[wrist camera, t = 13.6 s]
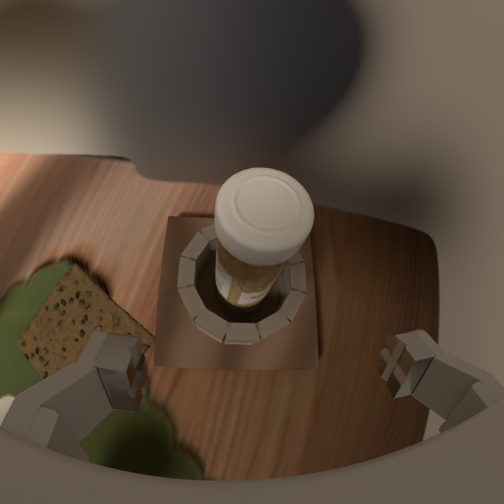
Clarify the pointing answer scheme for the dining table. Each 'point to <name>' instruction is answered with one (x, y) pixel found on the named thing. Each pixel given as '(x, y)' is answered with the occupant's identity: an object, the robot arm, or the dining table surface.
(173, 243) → the collar stand
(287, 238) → the sprinkles bottle
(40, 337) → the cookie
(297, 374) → the dining table surface
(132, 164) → the dining table surface
